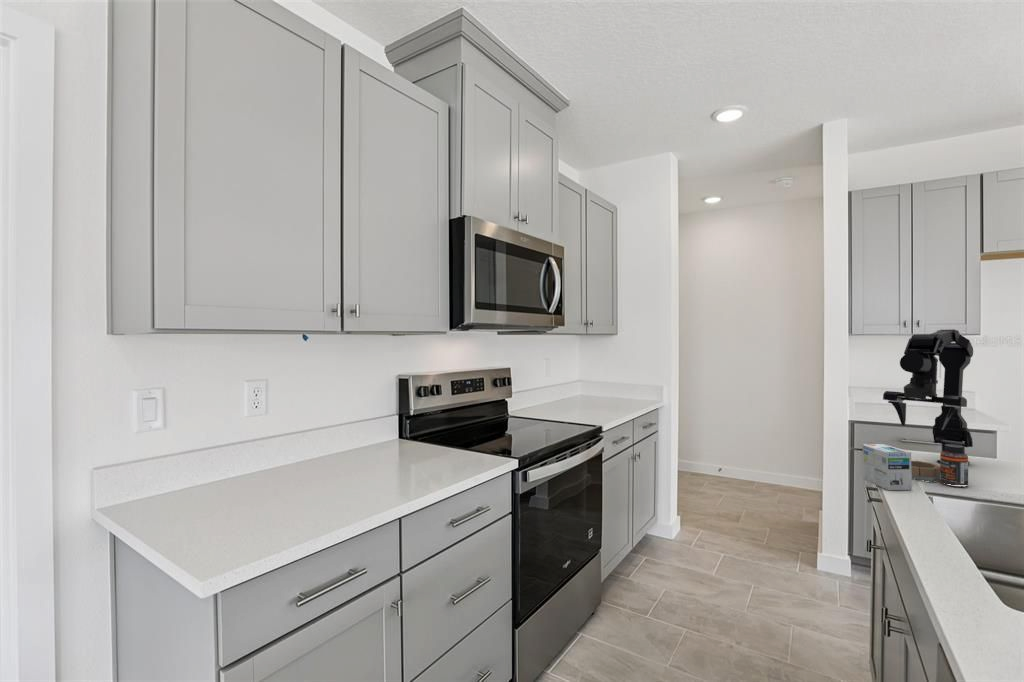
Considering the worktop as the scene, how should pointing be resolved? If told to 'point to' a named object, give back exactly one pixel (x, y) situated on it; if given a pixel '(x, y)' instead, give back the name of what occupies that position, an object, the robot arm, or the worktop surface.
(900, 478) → the light bulb box
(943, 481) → the supplement bottle
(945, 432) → the robot arm
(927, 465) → the bottle socket
